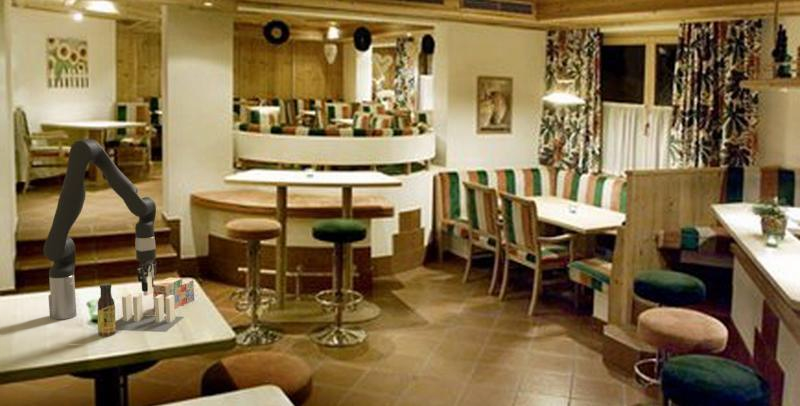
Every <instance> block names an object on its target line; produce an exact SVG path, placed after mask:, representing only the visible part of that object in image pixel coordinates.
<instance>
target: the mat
mask: <svg viewBox="0 0 800 406" xmlns="http://www.w3.org/2000/svg"><path fill="white" fill-rule="evenodd" d="M184 318H185V316H176V315H175V319H174V320H173V321H172V322H171V323H167V322H166V315H164V319H163V320H162V321H160V322H156V320H155V315H146V314H145V315H144V314H143V318H142V319H141V320H139V321H134V314H132V318H131V319H129V320H128V321H123V316H121V317H120V318H119V319H117V320H115V326H116V330H115V331H131V332H132V331H133V332H134V331H135V332H139V331H140V332H157V333H159V332H161V333H166V332H168V331H169V330H170V329H171V328H172V327H174V326H175V325H177V324H178V323H179V322H180V321H182V319H184Z"/></svg>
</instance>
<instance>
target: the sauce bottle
mask: <svg viewBox="0 0 800 406" xmlns="http://www.w3.org/2000/svg"><path fill="white" fill-rule="evenodd" d="M99 289H100V297H99V299H98V301H97V333H98V336H99V337H101V338H102V337H111V336H114V335H115V334H116V331H117V330H116V326H115V322H116V305H115V301H114V299H113V296H112V283H110V282H104V283H100V284H99Z"/></svg>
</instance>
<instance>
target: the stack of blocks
mask: <svg viewBox="0 0 800 406" xmlns="http://www.w3.org/2000/svg"><path fill="white" fill-rule="evenodd" d="M152 294H153V295H152V296H153V311H154V313H155V299H154V298H155V297H157V296H158V295H163V297H164V314H166V301H165V298H166V297H168V296H169V295H174V303H175V310H176V309H178V308H180V307H183V306H185V305H187V304H189V303H191V302H193V301H195V287H194V280H193V279H184V278H181V277H167V278H165V279H164V280H161V281H159V282H156V283H154V287H153V292H152ZM192 300H193V301H192ZM186 303H187V304H186ZM184 304H185V305H184Z"/></svg>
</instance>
